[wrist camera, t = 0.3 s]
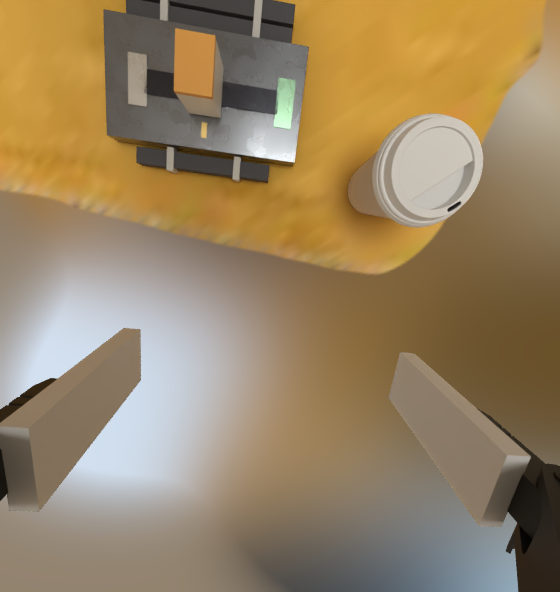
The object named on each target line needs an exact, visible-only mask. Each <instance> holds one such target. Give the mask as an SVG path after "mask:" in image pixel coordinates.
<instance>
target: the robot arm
mask: <svg viewBox="0 0 560 592" xmlns="http://www.w3.org/2000/svg"><path fill="white" fill-rule="evenodd" d="M140 346H141V345H140V329H129V328H123V329H122V330H121V331H119V332H118V333H117V334H116V335H114V336H113V337H112V338H110V339H109V340H108V341H106V342H105V343H104V344H102V345H101V346H100V347H99V348H97V349H96V350H95V351H93V352H92V353H91V354H89V355H88V356H87V357H86V358H84V359H83V360H82V361H80V362H79V363H78V364H76V365H75V366H74V367H73V368H71V369H70V370H69V371H67V372H66V373H65V374H63V375H62V376H61V377H59V378H58V379H55V378H50V379H48V380H45V381H43V382H41V383H39V384H36V385H34V386H33V387H31V388H30V389H28V390H27V391H26V392H25V393H23V394H21V395H20V397H17V398H16V399H14V400H13V401H12V402H10V403H9V405H8V406H7V405H6V406H5V407H3V408H2V409H0V501H1V500H2V499H3V498H4V497H5V495H6V494H7V498H8V504H9V510H10V511H33V512H39V511H40V510H41V509H42V507H43V506H44V505H45V504H46V502H47V501H48V500H49V498H50V497H51V496H52V494H53V493H54V492H55V491H56V489H57V488H58V487H59V485H60V484H61V483H62V481H63V480H64V479H65V478H66V476H67V475H68V474H69V472H70V471H71V470H72V469H73V467H74V466H75V465H76V463H77V462H78V461H79V459H80V458H81V457H82V456H83V454H84V453H85V452H86V450H87V449H88V448H89V446H90V445H91V444H92V443H93V441H94V440H95V439H96V437H97V436H98V435H99V434H100V432H101V431H102V429H103V428H104V427H105V426H106V424H107V423H108V422H109V421H110V419H111V418H112V417H113V415H114V414H115V413H116V411H117V410H118V409H119V407H120V406H121V405H122V404H123V402H124V401H125V400H126V398H127V397H128V396H129V395H130V393H131V392H132V391H133V389H134V388H135V387H136V386H137V384H138V383H139V382H140V380H141V353H140V352H141V349H140V348H141V347H140ZM389 399H390V401H391V402H392V403H393V405H394V406H395V408H396V409H397V411H398V412H399V413H400V415H401V416H402V418H403V419H404V420H405V422H406V423H407V425H408V426H409V428H410V429H411V430H412V432H413V433H414V435H415V436H416V437H417V439H418V440H419V442H420V443H421V445H422V446H423V447H424V449H425V450H426V451H427V453H428V454H429V456H430V457H431V459H432V460H433V461H434V463H435V464H436V466H437V467H438V469H439V470H440V471H441V473H442V474H443V476H444V477H445V478H446V480H447V481H448V483H449V484H450V486H451V487H452V488H453V490H454V491H455V493H456V494H457V495H458V497H459V498H460V500H461V501H462V502H463V504H464V505H465V507H466V508H467V510H468V511H469V513H470V514H471V515H472V517H473V518H474V520H475V521H476V522H477V524H478V525H479V526H491V527H501V526H502V524H503V522H504V519H505V517H506V515H507V512H509V513H510V515H511V516H512V517H513V518H514V519H515V520H516V522H517V525H516V527H515V530H514V532H513V534H512V536H511V539H510V541H509V543H508V546H507V549H506V552H508V553H511V551H512V549H515V554H516V567H517V578H518V591H519V592H560V466H558V465H553V464H545V463H544V462H543V461H541V460H540V459H539V458H538V457H537V456H536V455H534V454H533V453H532V452H531V451H530V450H529V449H528V448H526V447H525V446H524V445H523V444H522V443H521V442H519V441H518V440H517V439H516V438H515V437H514V436H511V434H510V433H509V432H508V431H507V430H506V429H504V428H502V427H501V425H500V424H498V423H497V422H496V421H495V420H494V419H493V418H492V417H490V416H489V415H487V414H486V413H484V412H482V411H480V410H479V409H477V408H475V407H474V406H473V405H472V404H471V403H470V402H469V401H467V400H466V399H465V398H464V397H463V396H462V395H461V394H460V393H458V392H457V391H456V390H455V389H454V388H453V387H451V386H450V385H449V384H448V383H447V382H446V381H445V380H443V379H442V378H441V377H440V376H439V375H438V374H437V373H436V372H435V371H433V370H432V369H431V368H430V367H429V366H428V365H427V364H425V363H424V362H423V361H422V360H421V359H420V358H419V357H418V356H416V355H415V354H413V353H402V352H400V355H399V360H398V363H397V367H396V371H395V375H394V379H393V383H392V387H391V391H390V395H389Z"/></svg>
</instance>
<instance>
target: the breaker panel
mask: <svg viewBox="0 0 560 592" xmlns="http://www.w3.org/2000/svg"><path fill="white" fill-rule="evenodd" d="M175 28H177V29H183V30H189V31H194V32H200V33H205V34H211V35H215V37H216V41H217V44H218V48H219V52H220V56H221V60H222V64H223V68H224V69H223V85H222V101H221V118H217V117H210V116H204V115H197V114H191V113H188V111H187V110H186V108H185V107H184V105H183V104H182V102H181V101H180V99H179V98H178V96H177V95H176V93H175V92H174V57H175ZM104 45H105V81H106V116H107V135H108V136H109V137H111V138H113V139H115V140H117V141H119V142H126V143H133V144H140V145H147V146H154V147H161V148H167V147H173V148H175V149H176V150H182V151H189V152H196V153H203V154H210V155H217V156H223V157H230V158H234V156H235V157H241V159H244V160H251V161H258V162H265V163H272V164H279V165H286V166H293V165H294V163H295V155H296V147H297V139H298V131H299V122H300V114H301V106H302V98H303V90H304V82H305V74H306V66H307V58H308V50H309V47H307V46H302V45H296V44H291V43H285V42H280V41H274V40H269V39H263V38H258V37H252V36H247V35H241V34H236V33H230V32H225V31H219V30H214V29H208V28H203V27H197V26H192V25H186V24H181V23H175V22H170V21H164V20H159V19H154V18H148V17H143V16H137V15H132V14H126V13H121V12H115V11H110V10H104Z"/></svg>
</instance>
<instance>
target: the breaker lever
mask: <svg viewBox="0 0 560 592" xmlns="http://www.w3.org/2000/svg"><path fill="white" fill-rule="evenodd" d="M223 69H224V68H223V64H222V60H221V56H220V52H219V48H218V44H217V41H216V37H215V35H211V34H205V33H200V32H194V31H189V30H183V29H177V28H175V57H174V92H175V93H176V95H177V96H178V98H179V99H180V101H181V102H182V104H183V105H184V107H185V108H186V110H187V111H188V113H191V114H197V115H204V116H210V117H217V118H221V101H222V85H223Z"/></svg>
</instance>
